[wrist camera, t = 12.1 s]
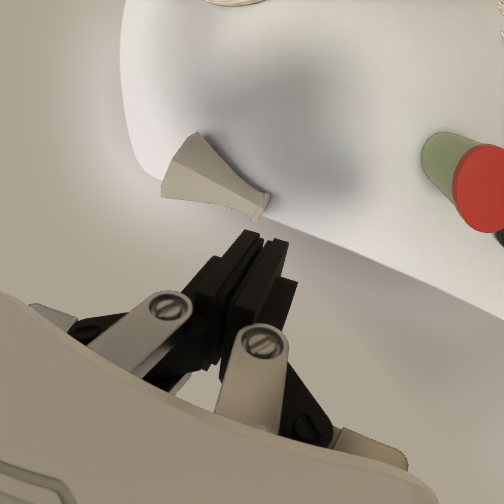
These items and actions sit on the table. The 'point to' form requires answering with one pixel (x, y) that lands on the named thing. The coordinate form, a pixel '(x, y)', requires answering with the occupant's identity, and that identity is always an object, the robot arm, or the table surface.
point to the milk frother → (501, 236)
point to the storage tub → (468, 178)
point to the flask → (210, 180)
